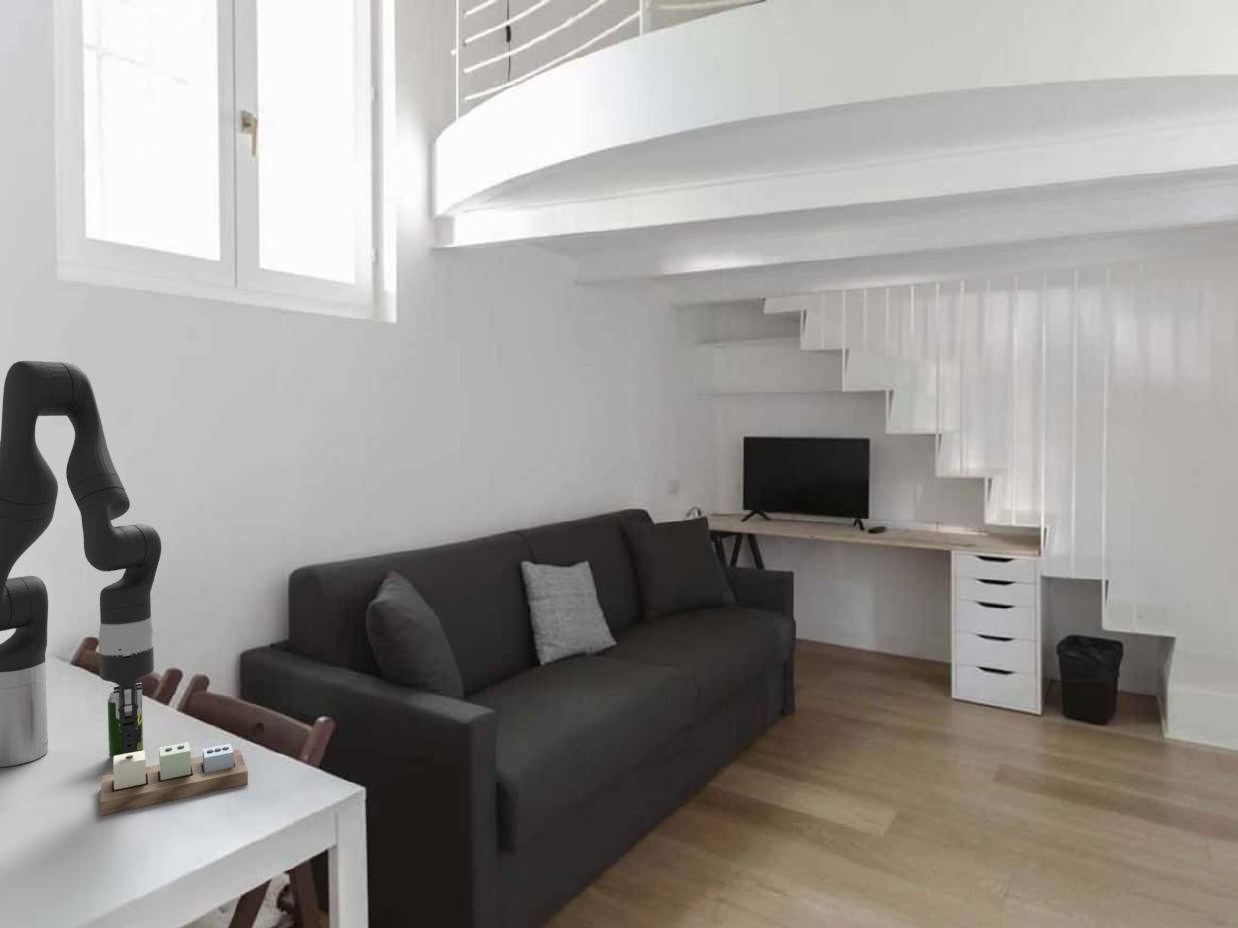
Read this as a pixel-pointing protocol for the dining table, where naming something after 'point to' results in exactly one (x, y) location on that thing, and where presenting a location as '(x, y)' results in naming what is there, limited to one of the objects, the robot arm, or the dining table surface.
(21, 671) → the robot arm
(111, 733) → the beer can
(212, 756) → the three dot key
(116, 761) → the one dot key
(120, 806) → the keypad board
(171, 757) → the two dot key
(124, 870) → the dining table surface
